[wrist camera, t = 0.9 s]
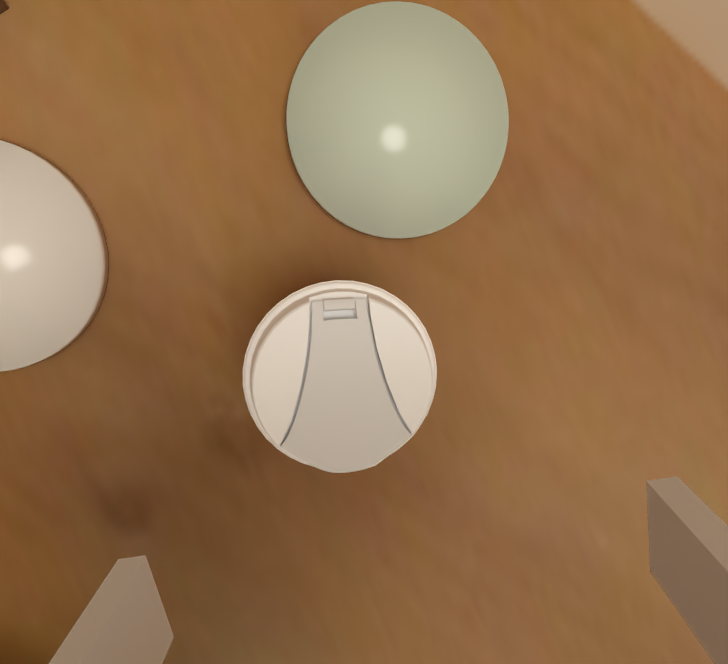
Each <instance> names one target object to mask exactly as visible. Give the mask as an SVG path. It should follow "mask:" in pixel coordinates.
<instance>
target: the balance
mask: <svg viewBox="0 0 728 664" xmlns="http://www.w3.org/2000/svg"><path fill="white" fill-rule="evenodd" d="M7 9H8V6H7V5H6V3H5V2H4V0H0V13H2V12H3V11H5V10H7Z"/></svg>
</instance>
